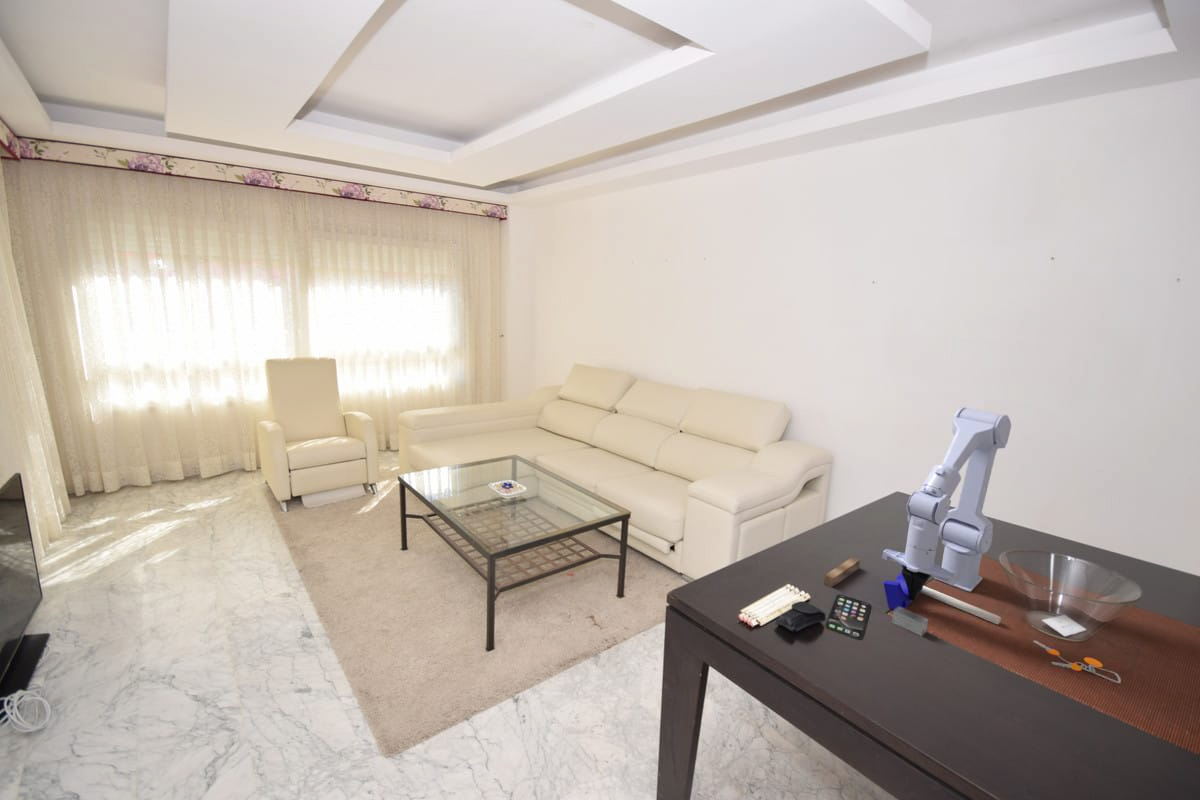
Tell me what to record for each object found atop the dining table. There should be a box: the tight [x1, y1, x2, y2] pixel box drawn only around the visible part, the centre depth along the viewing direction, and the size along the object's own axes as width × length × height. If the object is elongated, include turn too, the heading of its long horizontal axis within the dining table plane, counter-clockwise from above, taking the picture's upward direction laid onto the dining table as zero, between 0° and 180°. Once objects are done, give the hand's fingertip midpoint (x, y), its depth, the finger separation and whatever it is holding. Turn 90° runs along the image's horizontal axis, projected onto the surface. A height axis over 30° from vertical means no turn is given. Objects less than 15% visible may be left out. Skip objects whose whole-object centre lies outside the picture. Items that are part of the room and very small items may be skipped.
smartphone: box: [824, 594, 872, 641], centre depth 117 cm, size 7×1×15 cm
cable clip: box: [883, 564, 923, 610], centre depth 122 cm, size 12×4×6 cm, turn 130°
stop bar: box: [823, 556, 861, 588], centre depth 132 cm, size 14×2×2 cm, turn 129°
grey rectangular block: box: [891, 606, 929, 637], centre depth 113 cm, size 2×6×3 cm, turn 39°
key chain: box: [1032, 640, 1122, 684], centre depth 103 cm, size 13×7×1 cm, turn 53°
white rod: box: [919, 585, 1002, 626], centre depth 122 cm, size 2×21×2 cm, turn 39°
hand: (912, 598), depth 120 cm, fingers closed
